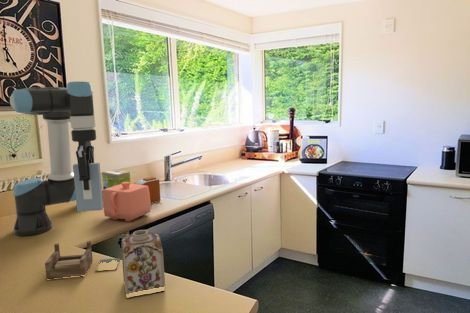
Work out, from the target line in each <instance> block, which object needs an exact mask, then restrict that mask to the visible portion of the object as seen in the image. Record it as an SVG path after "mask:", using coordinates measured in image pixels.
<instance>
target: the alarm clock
mask: <svg viewBox="0 0 470 313" xmlns="http://www.w3.org/2000/svg"><path fill="white" fill-rule="evenodd" d="M133 184H136V185H145V186H148V187H149V193H150V202H151V204H154V203H157V202H160V201H161V187H160V186H161V185H160V178H157V177H154V176H151V177H150V176H149V177H146V178H141V179H139V180H136V181H135V182H134V183H133Z"/></svg>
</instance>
